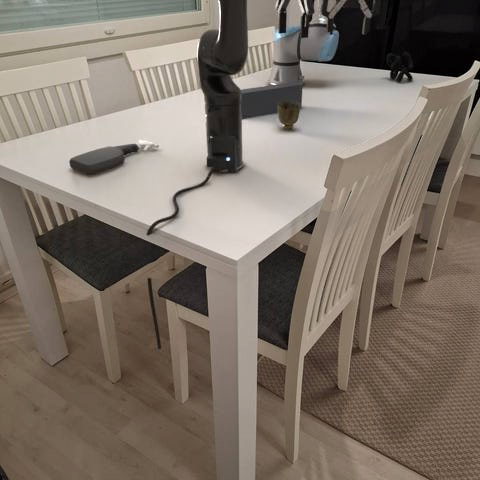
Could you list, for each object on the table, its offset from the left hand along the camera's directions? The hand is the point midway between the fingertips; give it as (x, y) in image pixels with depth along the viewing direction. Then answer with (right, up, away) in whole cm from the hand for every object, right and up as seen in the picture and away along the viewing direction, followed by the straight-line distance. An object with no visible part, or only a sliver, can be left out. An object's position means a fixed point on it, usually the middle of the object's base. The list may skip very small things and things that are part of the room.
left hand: (347, 34), depth 115 cm
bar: (-17, -6, +47) cm, 51 cm away
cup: (-12, -17, +30) cm, 37 cm away
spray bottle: (-62, -30, +10) cm, 70 cm away
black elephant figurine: (+44, +19, +86) cm, 99 cm away
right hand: (-10, +17, +38) cm, 43 cm away
